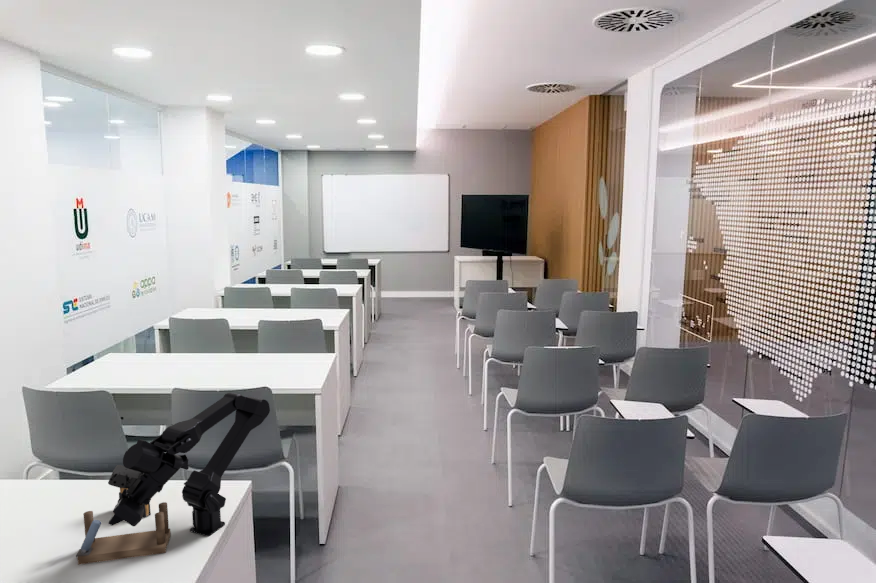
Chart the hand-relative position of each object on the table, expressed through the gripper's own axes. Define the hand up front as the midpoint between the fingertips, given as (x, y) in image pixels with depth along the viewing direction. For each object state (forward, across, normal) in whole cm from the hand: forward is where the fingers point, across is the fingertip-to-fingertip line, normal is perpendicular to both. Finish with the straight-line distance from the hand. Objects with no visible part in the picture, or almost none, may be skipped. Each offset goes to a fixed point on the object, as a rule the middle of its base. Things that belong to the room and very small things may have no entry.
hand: (110, 523), depth 144 cm
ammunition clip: (+6, -22, +7) cm, 24 cm away
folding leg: (+9, 0, 0) cm, 9 cm away
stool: (+4, -2, +8) cm, 9 cm away
